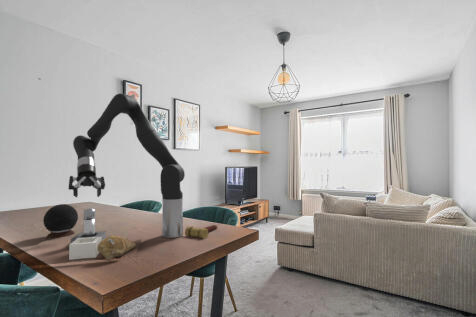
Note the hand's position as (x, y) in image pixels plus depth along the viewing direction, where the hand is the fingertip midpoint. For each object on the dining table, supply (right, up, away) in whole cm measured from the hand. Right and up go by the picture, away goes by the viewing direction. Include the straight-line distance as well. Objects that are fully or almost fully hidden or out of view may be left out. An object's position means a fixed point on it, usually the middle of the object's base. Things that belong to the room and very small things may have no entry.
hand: (87, 196), depth 112 cm
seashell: (+24, -19, -21) cm, 37 cm away
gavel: (+51, -20, +11) cm, 56 cm away
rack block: (+13, -19, -22) cm, 31 cm away
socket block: (+6, -19, -9) cm, 22 cm away
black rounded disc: (-15, -20, +5) cm, 26 cm away
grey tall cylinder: (+6, -18, -9) cm, 21 cm away
